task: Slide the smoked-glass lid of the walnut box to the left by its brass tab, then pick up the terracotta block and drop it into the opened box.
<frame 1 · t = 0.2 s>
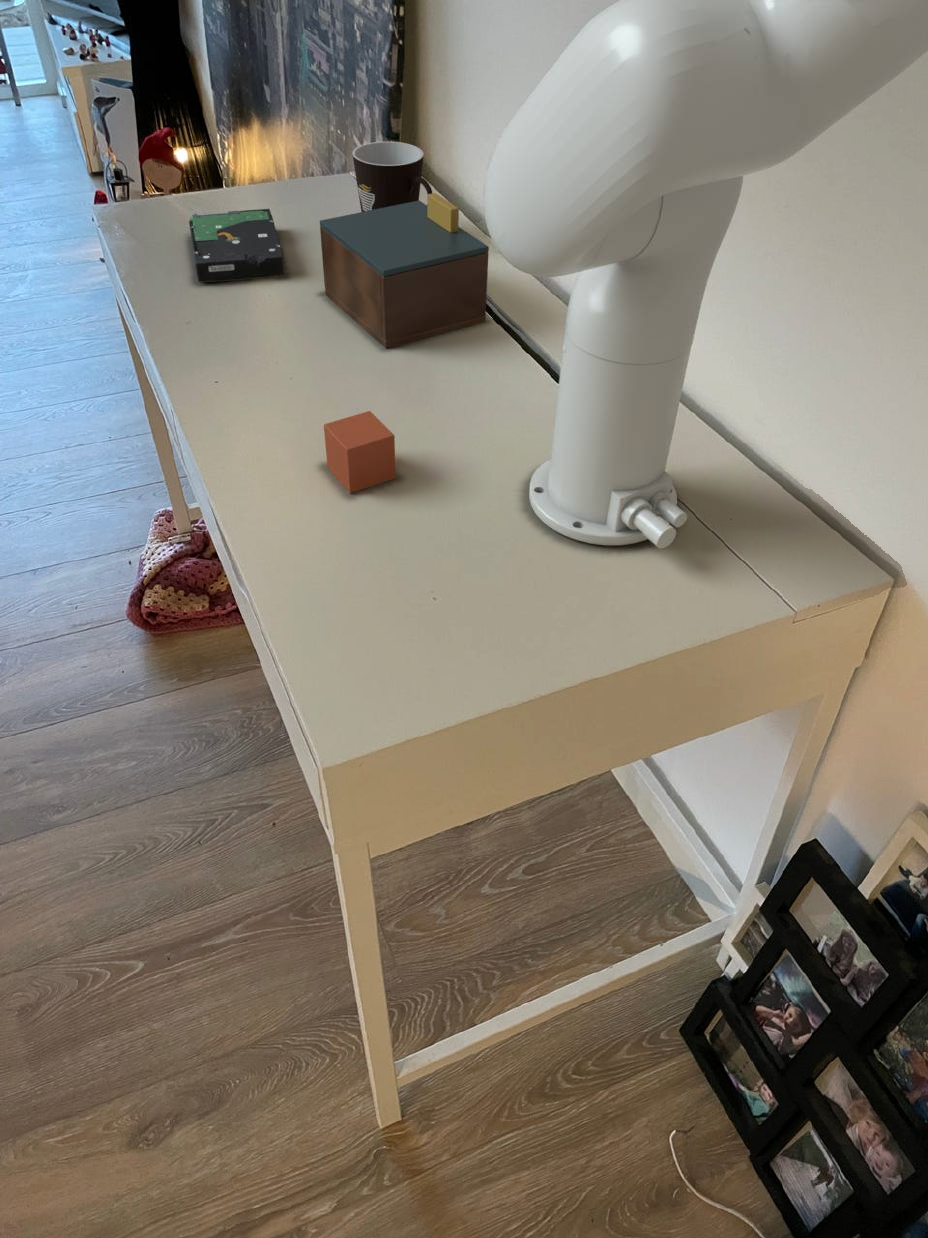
coffee mug: (393, 241, 120), on the table
walnut box: (403, 307, 106), on the table
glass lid: (402, 224, 100), point 9 cm above the table, slide at 0.0 cm
terracotta block: (361, 473, 83), on the table
disk drive: (237, 257, 115), on the table
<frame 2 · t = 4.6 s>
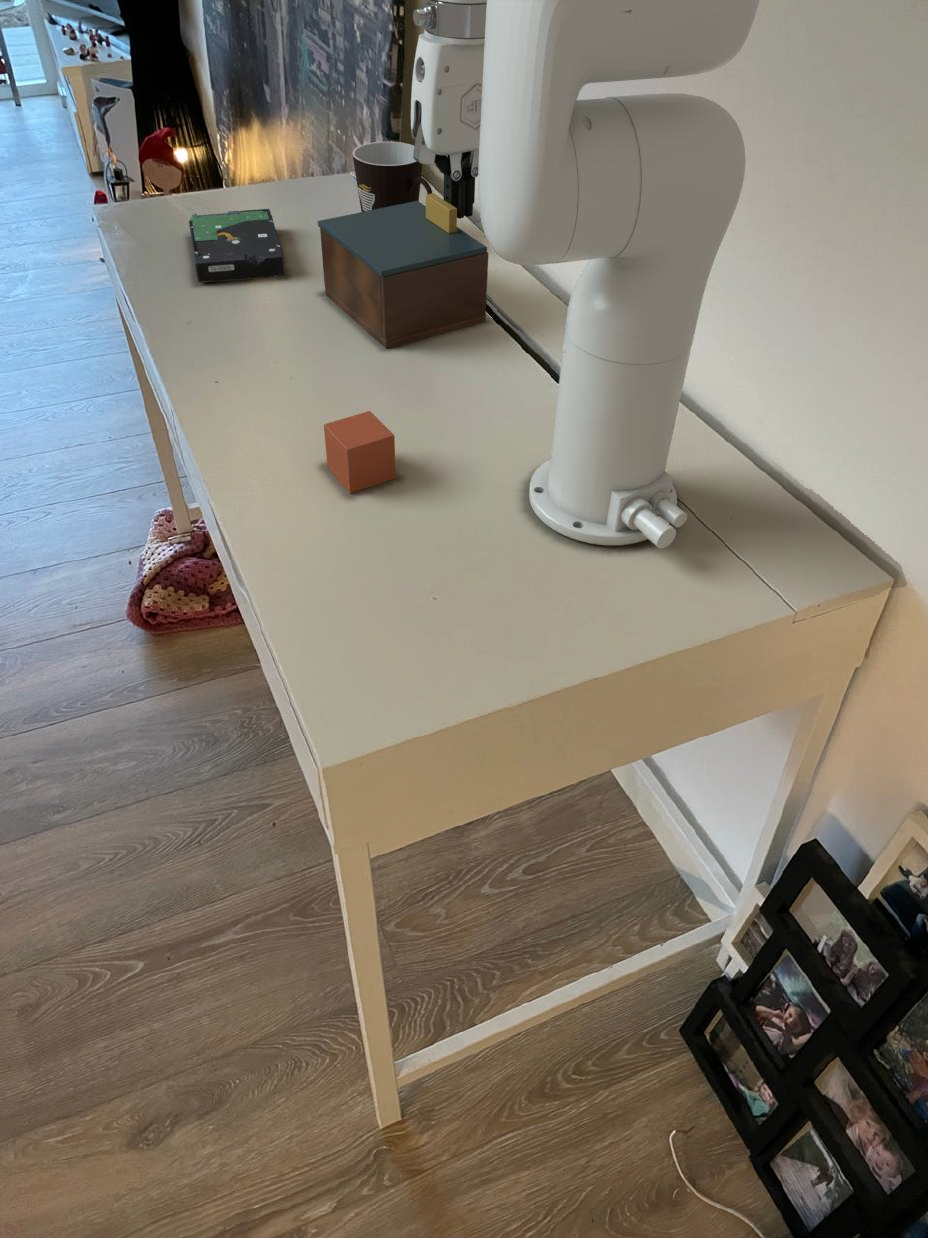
hand: (458, 212, 103), 9 cm above the table, tool pointing down, fingers closed
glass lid: (400, 224, 100), point 9 cm above the table, slide at 0.2 cm, touching gripper
everything else where it was.
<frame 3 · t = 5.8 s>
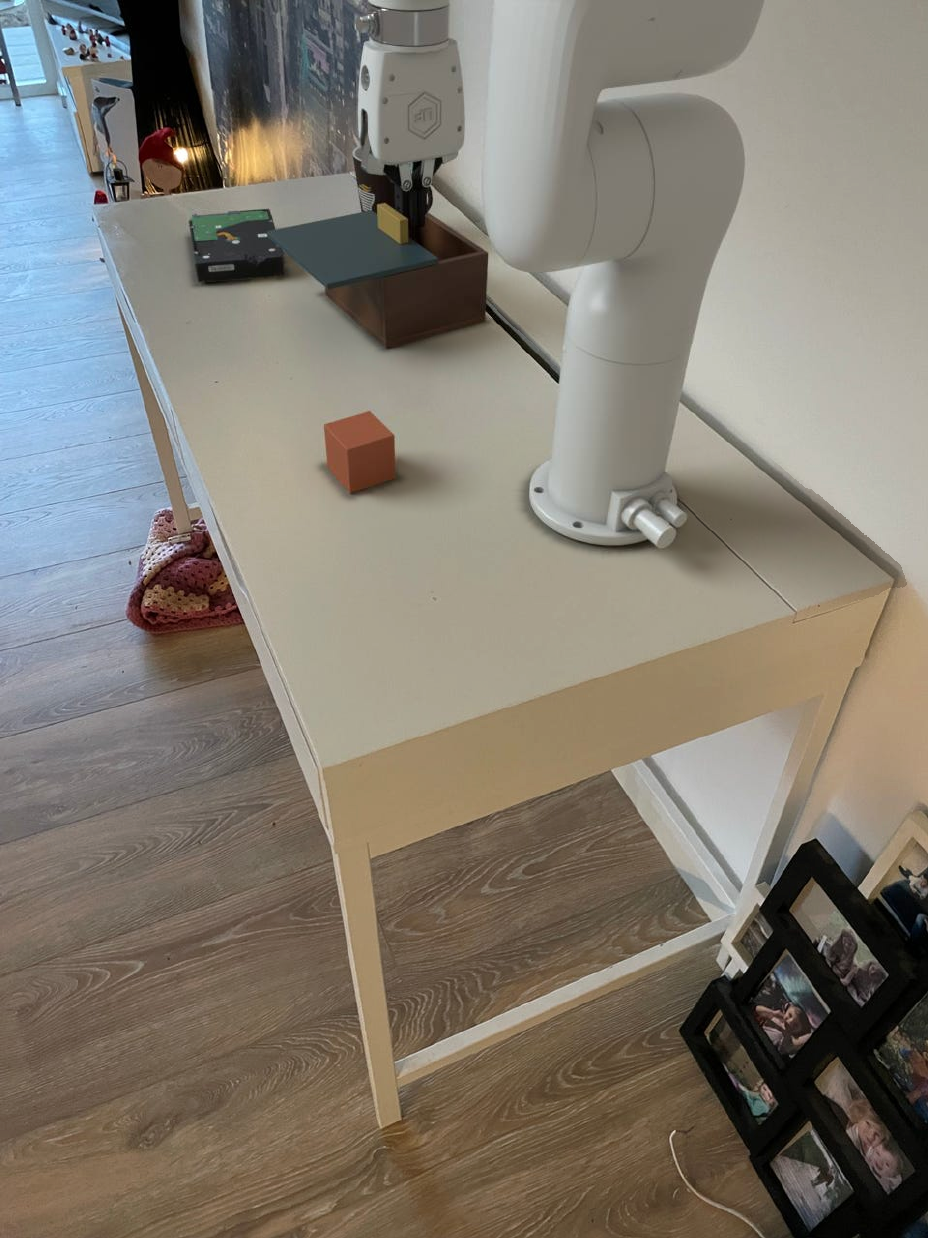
hand: (411, 223, 101), 9 cm above the table, tool pointing down, fingers closed
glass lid: (350, 235, 97), point 9 cm above the table, slide at 6.2 cm, touching gripper
everything else where it was.
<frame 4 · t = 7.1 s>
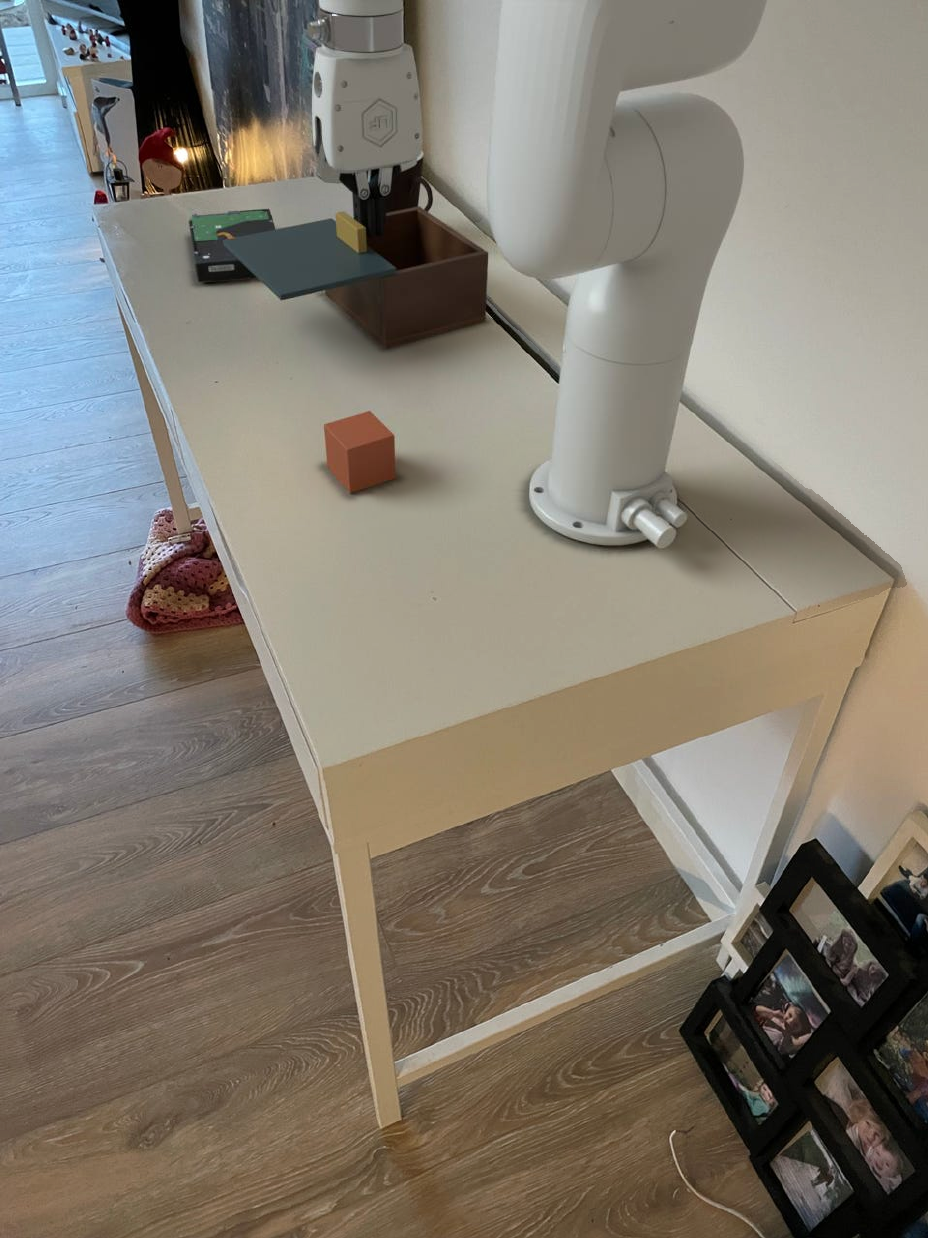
hand: (370, 231, 99), 9 cm above the table, tool pointing down, fingers closed
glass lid: (307, 244, 96), point 9 cm above the table, slide at 11.1 cm, touching gripper
everything else where it was.
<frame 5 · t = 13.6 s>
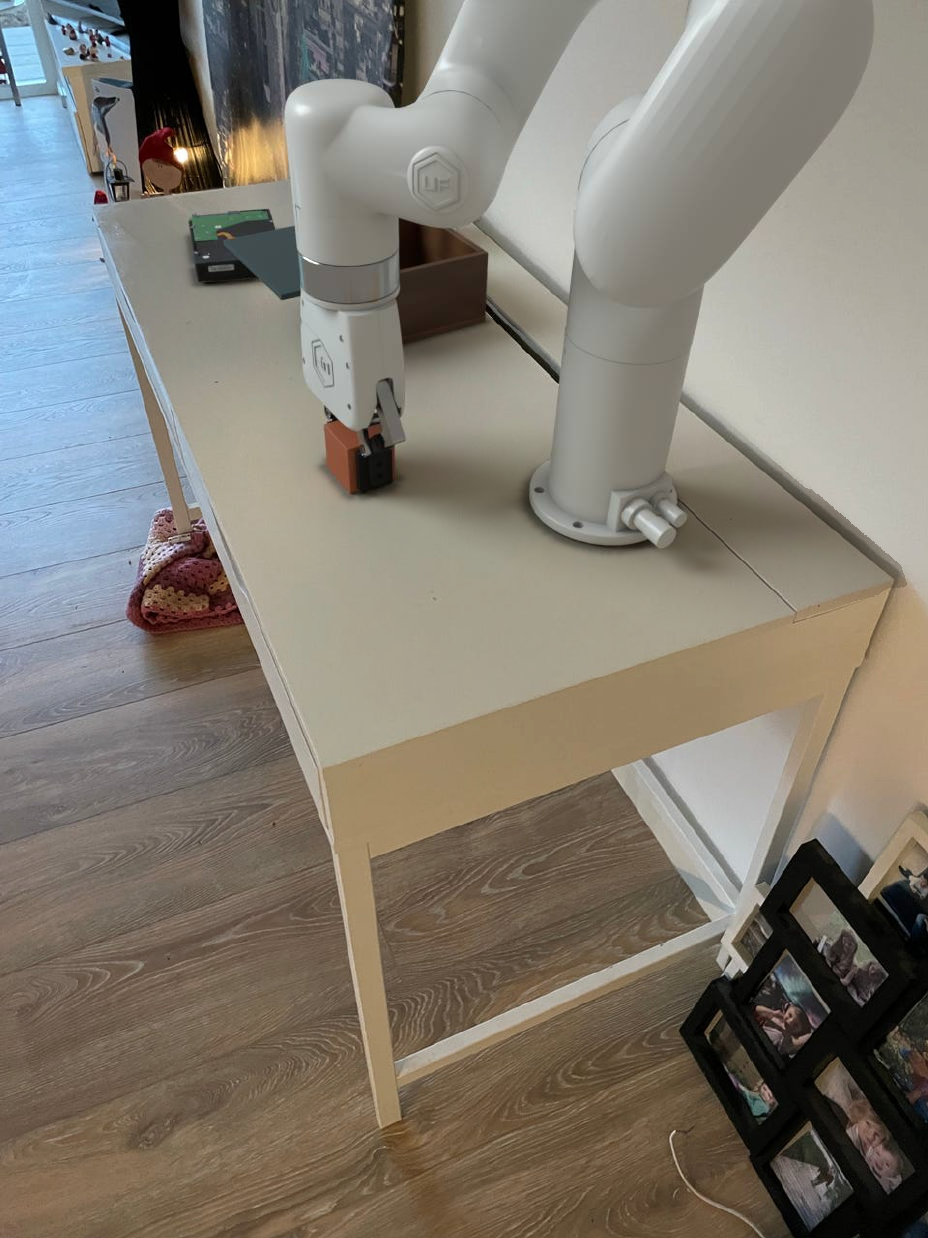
hand: (361, 469, 83), 0 cm above the table, tool pointing down, fingers closed on terracotta block, 4 cm apart
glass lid: (307, 244, 96), point 9 cm above the table, slide at 11.0 cm
terracotta block: (361, 473, 83), on the table, touching gripper
everything else where it was.
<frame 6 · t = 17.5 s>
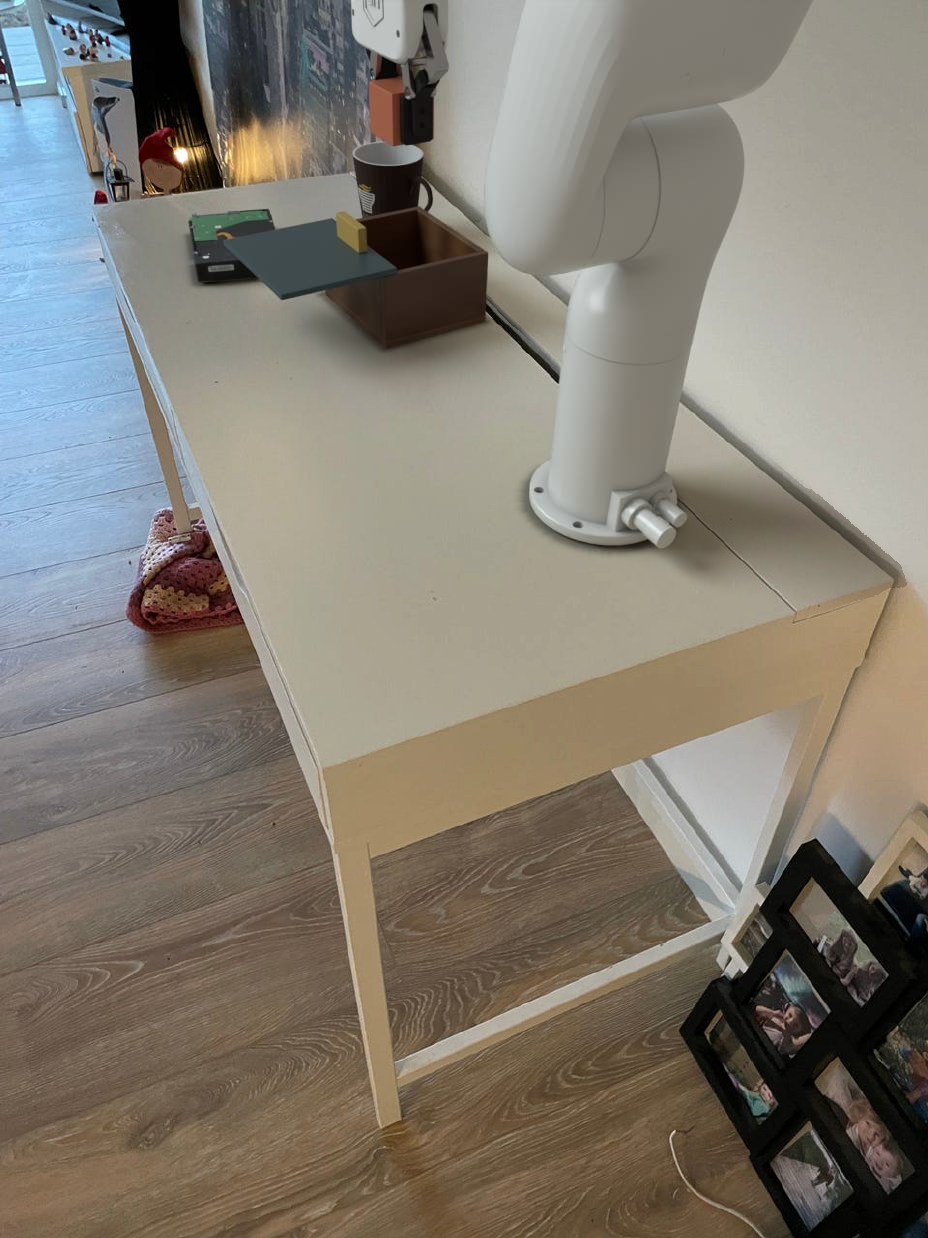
hand: (402, 131, 90), 20 cm above the table, tool pointing down, fingers closed on terracotta block, 4 cm apart
terracotta block: (402, 136, 91), point 19 cm above the table, touching gripper
everything else where it was.
when the fingers open (5 cm above the table, at t = 21.6 s): terracotta block drops 4 cm, resting on walnut box.
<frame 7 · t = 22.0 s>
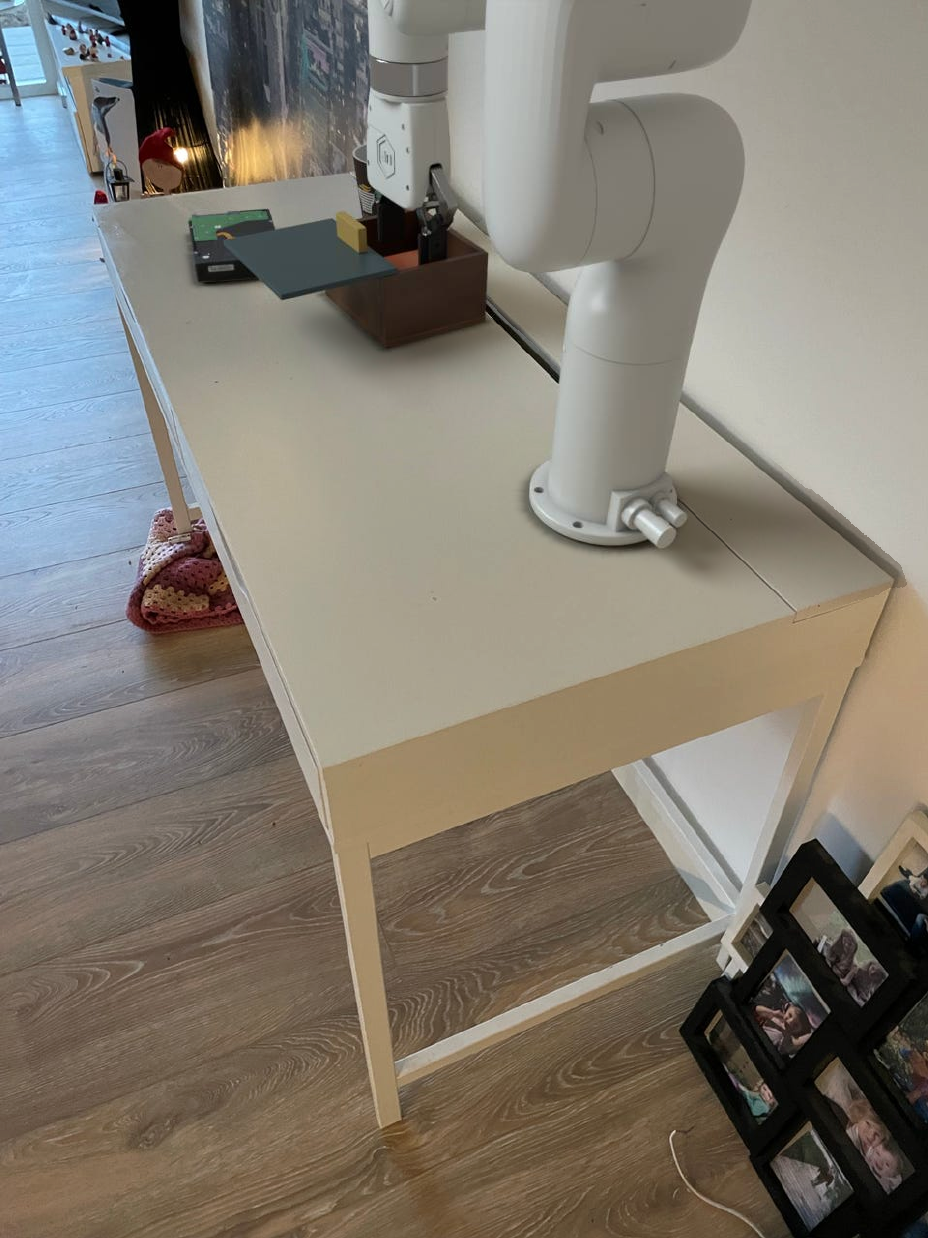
hand: (411, 253, 103), 6 cm above the table, tool pointing down, fingers open, 8 cm apart
terracotta block: (411, 299, 106), point 1 cm above the table, touching walnut box
everything else where it was.
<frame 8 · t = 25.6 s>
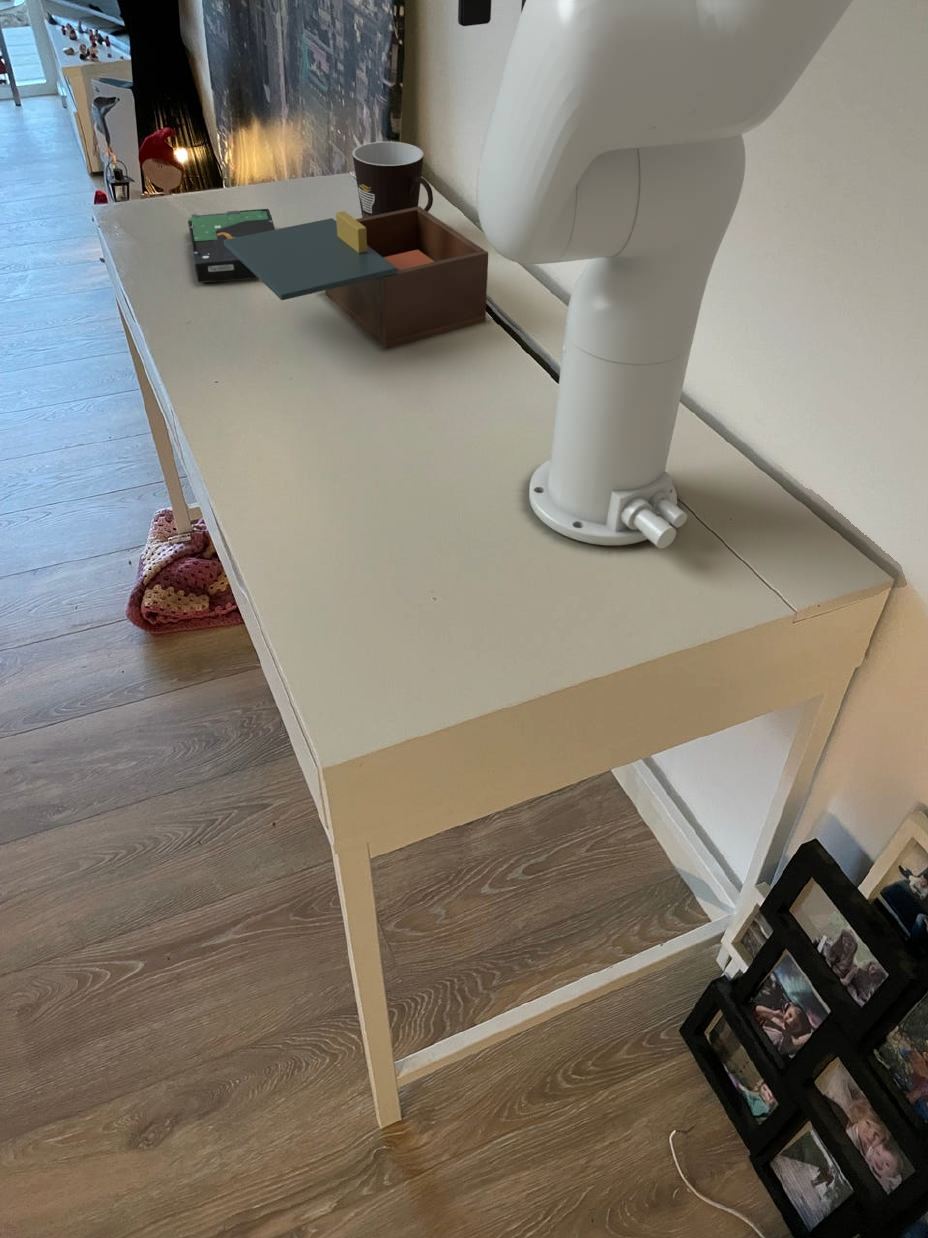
hand: (504, 36, 83), 28 cm above the table, tool pointing down, fingers open, 9 cm apart
nothing on the table moved.
at the end: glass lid slide at 11.0 cm; terracotta block inside the target area on the walnut box (0.9 cm from its centre), point 0.8 cm above the walnut box's base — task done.
